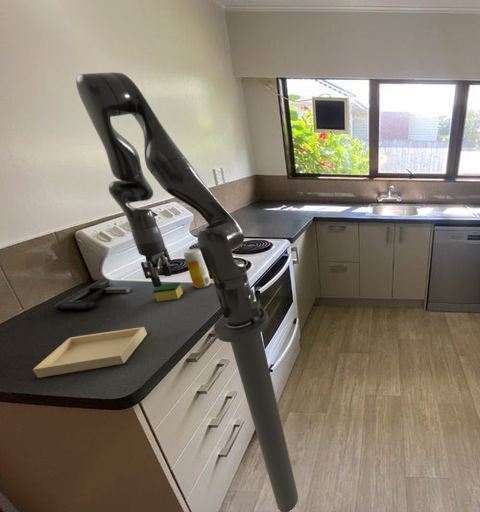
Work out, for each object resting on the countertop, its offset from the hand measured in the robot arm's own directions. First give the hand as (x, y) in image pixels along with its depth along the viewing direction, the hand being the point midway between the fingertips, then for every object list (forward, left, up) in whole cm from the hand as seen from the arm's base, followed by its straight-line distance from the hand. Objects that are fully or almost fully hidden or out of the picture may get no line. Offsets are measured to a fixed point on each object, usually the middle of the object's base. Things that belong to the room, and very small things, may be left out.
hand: (163, 280), depth 105 cm
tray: (+7, +29, -7) cm, 31 cm away
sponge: (0, 0, -7) cm, 7 cm away
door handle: (+26, -7, -7) cm, 28 cm away
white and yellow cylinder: (-9, -7, -7) cm, 14 cm away
